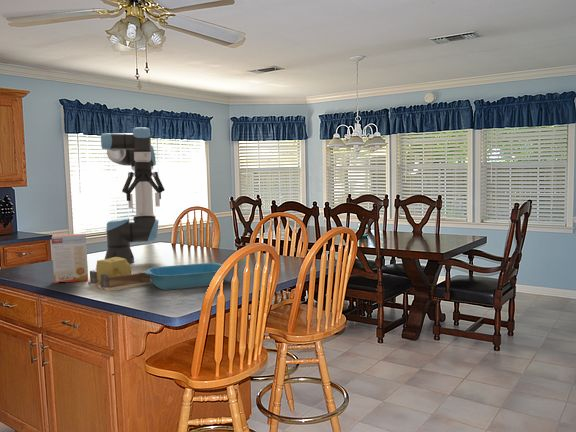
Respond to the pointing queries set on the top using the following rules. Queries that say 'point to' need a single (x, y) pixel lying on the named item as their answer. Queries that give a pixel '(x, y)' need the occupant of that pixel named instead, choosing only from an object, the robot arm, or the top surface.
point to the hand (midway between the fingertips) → (144, 207)
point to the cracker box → (69, 258)
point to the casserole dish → (183, 275)
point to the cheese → (112, 267)
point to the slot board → (119, 281)
